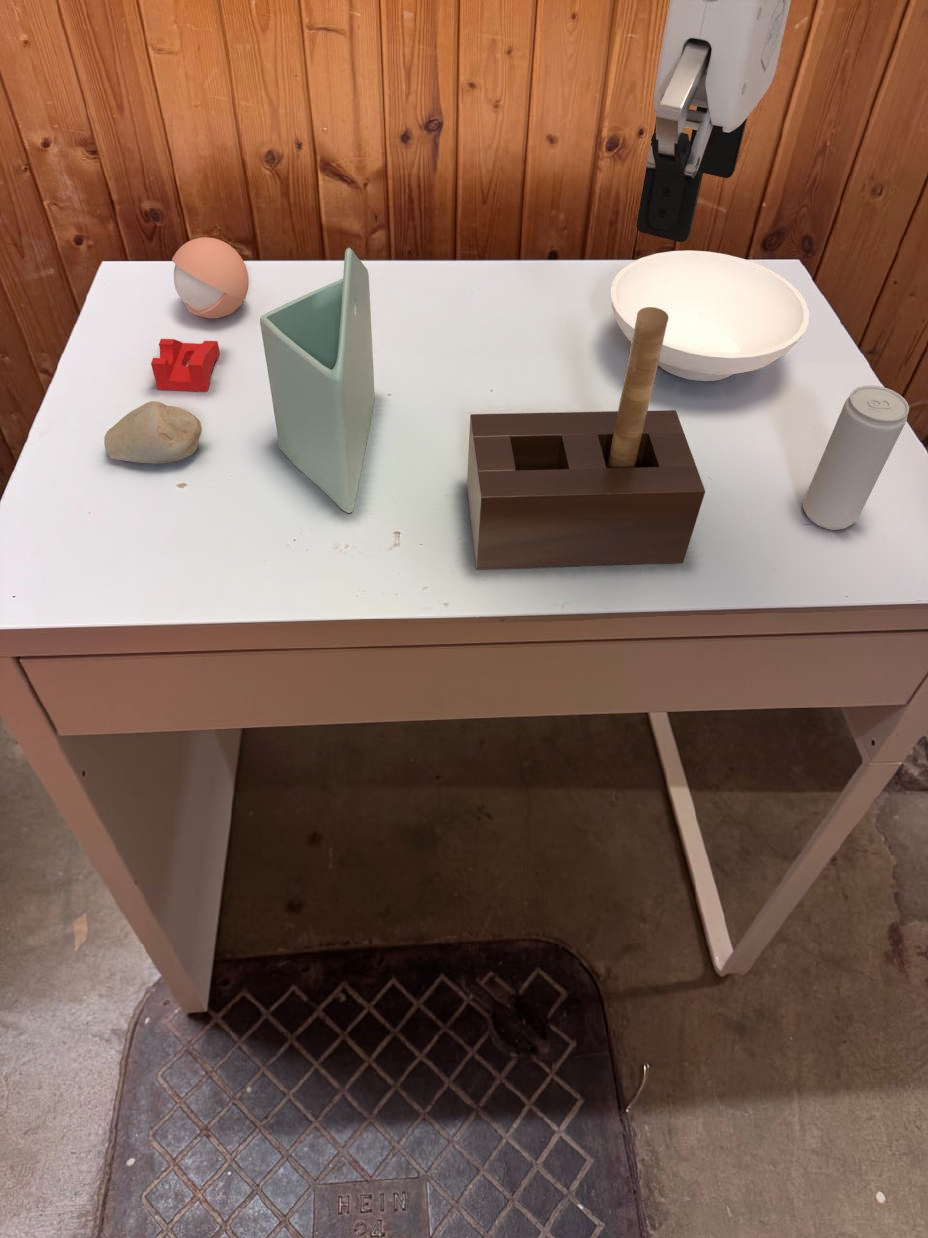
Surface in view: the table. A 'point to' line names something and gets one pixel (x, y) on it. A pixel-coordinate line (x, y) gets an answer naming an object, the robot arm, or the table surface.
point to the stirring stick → (637, 386)
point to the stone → (154, 434)
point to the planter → (324, 380)
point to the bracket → (184, 365)
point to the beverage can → (855, 456)
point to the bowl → (711, 311)
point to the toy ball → (210, 277)
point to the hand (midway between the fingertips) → (686, 202)
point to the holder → (578, 491)
